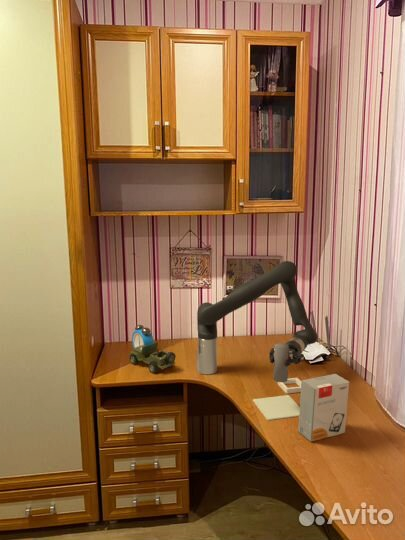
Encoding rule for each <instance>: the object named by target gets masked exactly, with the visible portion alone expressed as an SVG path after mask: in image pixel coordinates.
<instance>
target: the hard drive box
mask: <svg viewBox="0 0 405 540" xmlns="http://www.w3.org/2000/svg"><path fill="white" fill-rule="evenodd" d="M300 381H301V392H300V397H299V407H300V413H299V416H298V432H299V434H301V435H302V436H303V437H305V439H307V440H308V441H309V442H312V443H313V442H315V441H320V440H323V439H327V438H330V437H334V436H335V437H336V436H339V435H341V434H345V433H346V424H347V415H348V414H347V413H348V401H349V390H350V389H349V388H350V381H349V380H347V379H345V378H344V377H342V376H340V375H338V374H337V373H333V374H328V375H322V376H317V377H312V378H307V379H302V380H300Z"/></svg>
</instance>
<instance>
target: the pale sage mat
mask: <svg viewBox="0 0 405 540" xmlns="http://www.w3.org/2000/svg"><path fill="white" fill-rule="evenodd" d="M252 402H253V403H254V404H255V406H256V407H257V409H259V411H260V412H261V414H262V415H263V417H264V418H265V419H266V421H273V420H275V421H276V420H281V419H289V418H296V417H299V413H300V405H298V404H297V402H296V401H295V400H294V399H293V398H292V397H291V396H290V395H288V394H286V395H278V396H269V397H261V398H253V399H252Z"/></svg>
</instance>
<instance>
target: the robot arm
mask: <svg viewBox="0 0 405 540" xmlns="http://www.w3.org/2000/svg"><path fill="white" fill-rule="evenodd" d="M297 273H298V268H297V265H296V264H295V263H294V262H293V261H291V260H284V261H282V262H280V263H279V264H278V265H275V266H274V267H273V268H272V269H270V270H269V271H266V272H265V273H263V274H261V275H258V276H256V277H254V278H252V279H251V280H248V281H246V282H244V283H242V284H241V285H238V286H237V287H236V288H234V289H233V290H232V291H231V292H229V293H228V295H226V297H224V298H223V299H221V300H219V301H217V302H216V303H211V302H202V303H201V304H200V305H199V306H198V308H197V311H196V314H197V316H196V317H197V318H196V319H197V320H196V321H197V322H196V325H197V350H196V370H197V372H198V374H199V375H201V374H202V375H213V374H215V373H217V371H218V327H217V326H218V325H217V322H219V321H220V320H222V319H224V317H226V316H228V315H230V313H232V312H234V311H237V310H239V309H241V308H242V307H244V306H246V305H248V304H251V303H252V302H254V301H256V300H257V299H259V298H260V297H262V296H263V295H265V294H266V293H267V292H268V291H269V290H271V289H272V288H274V287H276V286H277V285H279V284H280V285H281V287H282V291H283V293H284V295H285V298H286V303H287V307H288V310H289V314H290V317H291V320H292V323H293V325H294V326H302V327H303V328H304V329H301V330H297V331H295V332H294V333H293V334H292V338H290V339H289V340H287V341H286V342H285V343H284V344H287V345H289V354H288V359H287V360H286V362H285V366H286V367H287V366H288V367H289V366H291V365H293V364H294V365H298V364H300V363H302V362H303V361H304V358H305V354H303V352H304V351H305V349H307V347H308V346H309V345H313V344H316V343H317V340H318V334H317V331H316V330H315V328H314V327H313V326H312V324H311V321H310V320H309V318H308V314H307V312H306V308H305V305H304V302H303V299H302V298H301V295H300V293H299V291H298V287H297V283H296V282H297V281H296V276H297ZM268 355H269V358H268V359H269V362H270V364H274V348H273V347H272V348H271V349H270V350H269V354H268Z"/></svg>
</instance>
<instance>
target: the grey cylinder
mask: <svg viewBox="0 0 405 540" xmlns="http://www.w3.org/2000/svg"><path fill="white" fill-rule="evenodd" d="M288 354H289V345H287V344H285V343H283V342H282V343H281V342H278V343H275V344H274V362H273V377H272V378H273V381H275V382H277V383H278V382H286V381H287V379H289V378H288V377H289V376H288V373H289V366H287V367H286V366H285V362H286V360H287V359H288Z"/></svg>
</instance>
